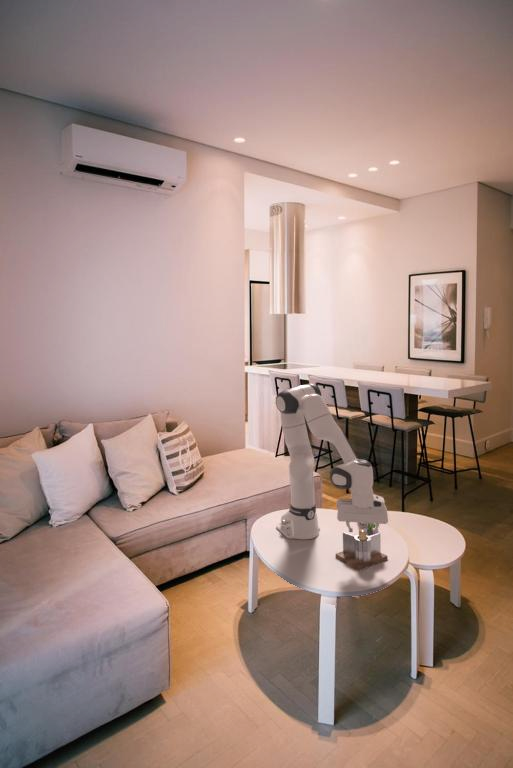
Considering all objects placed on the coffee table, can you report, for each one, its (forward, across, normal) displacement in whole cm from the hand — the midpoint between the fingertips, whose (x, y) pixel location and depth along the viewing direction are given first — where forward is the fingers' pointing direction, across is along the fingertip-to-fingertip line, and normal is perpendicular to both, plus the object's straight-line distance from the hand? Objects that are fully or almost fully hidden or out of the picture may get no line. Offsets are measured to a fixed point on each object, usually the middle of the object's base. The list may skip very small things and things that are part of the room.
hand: (362, 532), depth 190 cm
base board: (+13, -1, +3) cm, 13 cm away
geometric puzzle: (+13, +4, +25) cm, 28 cm away
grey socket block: (+11, 0, +4) cm, 12 cm away
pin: (+11, 0, 0) cm, 11 cm away
